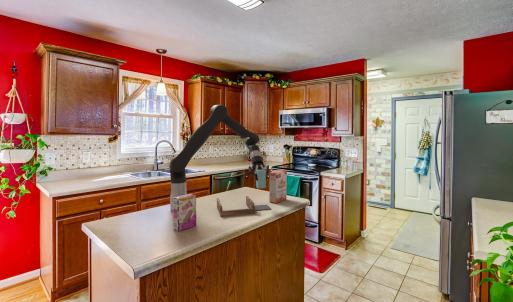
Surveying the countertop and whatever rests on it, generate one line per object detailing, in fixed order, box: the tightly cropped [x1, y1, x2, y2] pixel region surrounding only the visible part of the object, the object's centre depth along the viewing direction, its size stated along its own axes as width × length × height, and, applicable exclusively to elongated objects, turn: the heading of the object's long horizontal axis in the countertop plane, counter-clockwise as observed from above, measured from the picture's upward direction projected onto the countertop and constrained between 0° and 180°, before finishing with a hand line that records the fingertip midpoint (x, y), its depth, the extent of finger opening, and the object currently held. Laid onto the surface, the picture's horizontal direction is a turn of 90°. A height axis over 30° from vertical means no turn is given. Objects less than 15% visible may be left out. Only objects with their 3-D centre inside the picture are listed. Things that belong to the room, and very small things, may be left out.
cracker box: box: [268, 169, 288, 204], centre depth 185 cm, size 14×6×21 cm, turn 143°
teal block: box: [255, 169, 267, 189], centre depth 169 cm, size 5×5×11 cm
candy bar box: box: [172, 193, 197, 232], centre depth 135 cm, size 11×5×16 cm, turn 141°
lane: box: [216, 195, 256, 218], centre depth 164 cm, size 19×20×6 cm
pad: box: [254, 203, 272, 212], centre depth 169 cm, size 10×10×1 cm
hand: (261, 179), depth 167 cm, fingers closed on teal block, 5 cm apart
